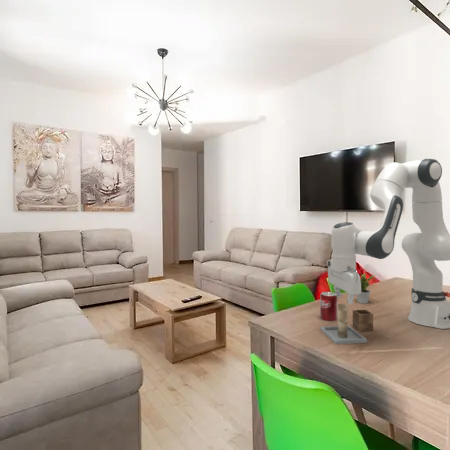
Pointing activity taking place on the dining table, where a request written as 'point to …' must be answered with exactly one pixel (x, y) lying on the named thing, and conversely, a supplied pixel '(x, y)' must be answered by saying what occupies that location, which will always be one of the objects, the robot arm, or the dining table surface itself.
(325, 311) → the soda can
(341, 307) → the dowel
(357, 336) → the tray
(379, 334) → the dining table surface
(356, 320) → the brown wooden box
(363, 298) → the house plant
